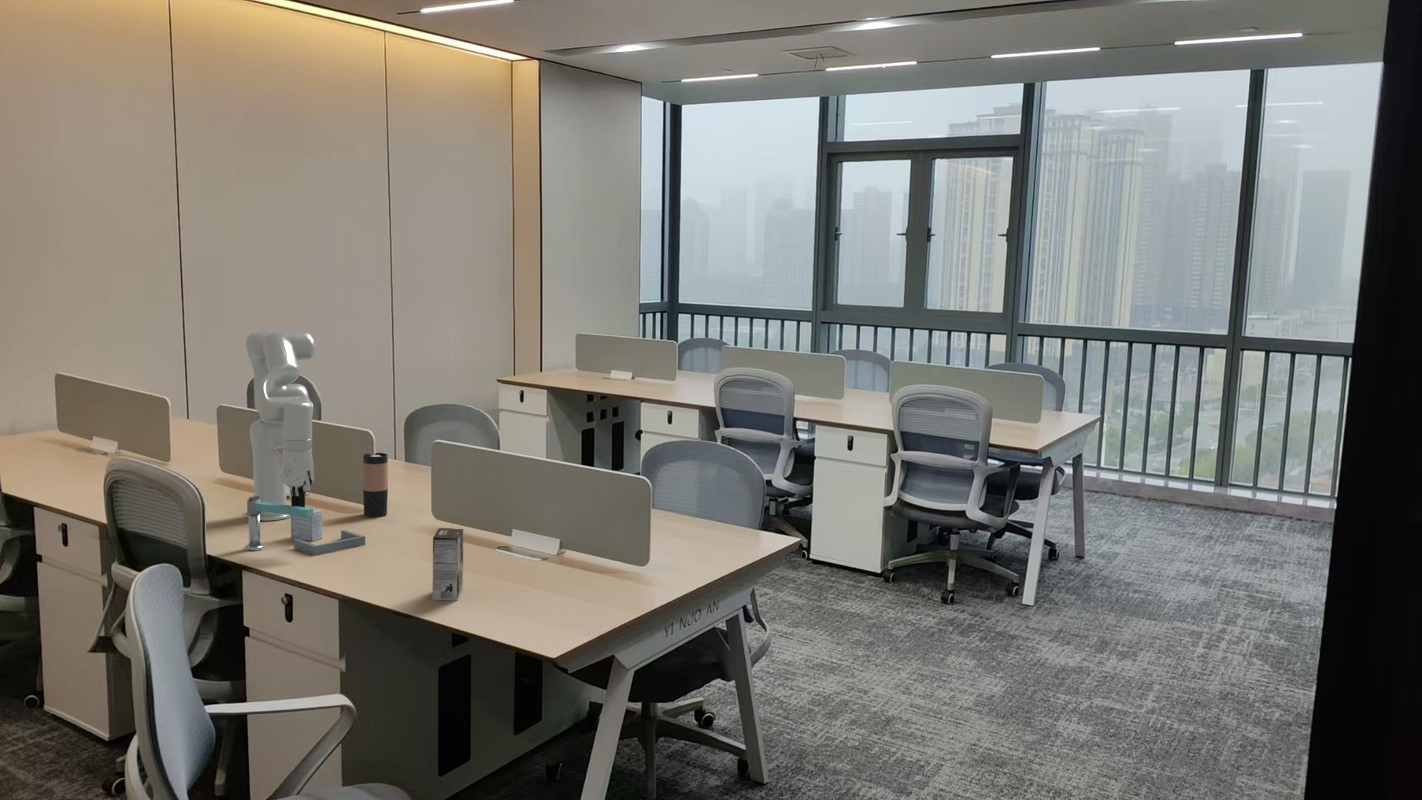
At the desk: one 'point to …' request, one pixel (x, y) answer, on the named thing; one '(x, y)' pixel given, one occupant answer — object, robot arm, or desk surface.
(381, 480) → the travel mug
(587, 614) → the desk surface
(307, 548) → the bay
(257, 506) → the bar
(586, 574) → the desk surface
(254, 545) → the post
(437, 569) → the coffee box
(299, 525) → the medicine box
